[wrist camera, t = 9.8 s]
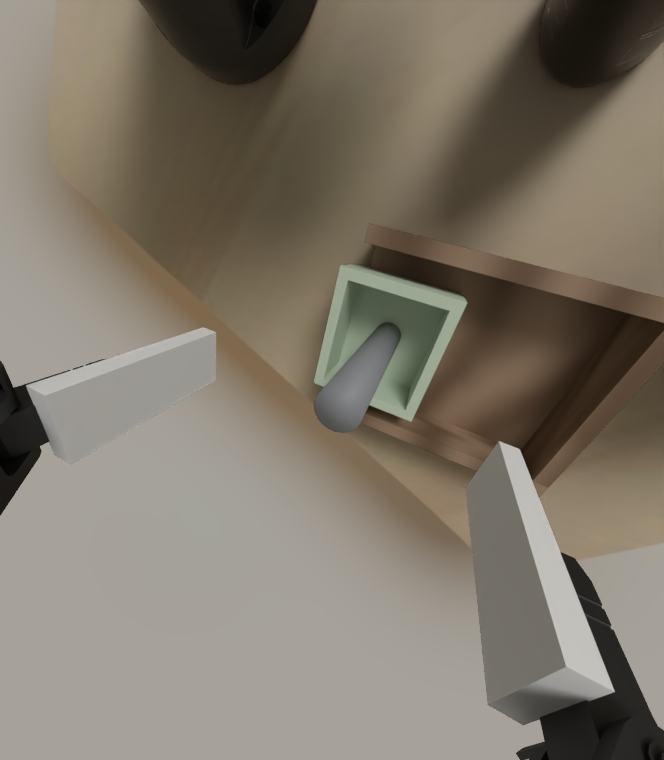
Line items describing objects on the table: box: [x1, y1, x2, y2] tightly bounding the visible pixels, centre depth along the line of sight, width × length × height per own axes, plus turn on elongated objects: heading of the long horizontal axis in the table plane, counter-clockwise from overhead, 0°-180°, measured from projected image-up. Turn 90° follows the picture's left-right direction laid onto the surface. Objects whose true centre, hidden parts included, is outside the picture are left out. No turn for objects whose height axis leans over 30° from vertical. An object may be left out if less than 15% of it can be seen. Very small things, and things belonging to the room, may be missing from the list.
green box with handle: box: [314, 264, 467, 433], centre depth 19 cm, size 9×10×15 cm
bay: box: [361, 223, 664, 497], centre depth 23 cm, size 20×16×5 cm
